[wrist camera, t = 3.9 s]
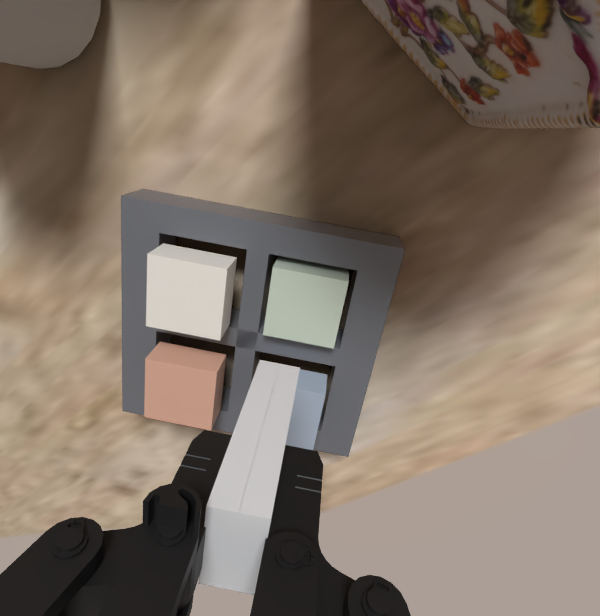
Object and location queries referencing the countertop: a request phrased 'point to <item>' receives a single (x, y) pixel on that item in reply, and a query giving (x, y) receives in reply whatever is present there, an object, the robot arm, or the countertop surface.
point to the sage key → (305, 302)
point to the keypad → (261, 299)
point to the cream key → (189, 291)
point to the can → (46, 31)
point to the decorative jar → (505, 57)
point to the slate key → (306, 409)
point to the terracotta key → (184, 385)
